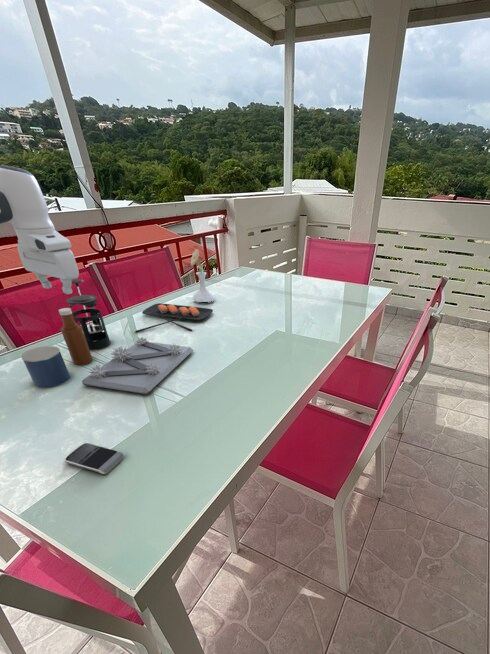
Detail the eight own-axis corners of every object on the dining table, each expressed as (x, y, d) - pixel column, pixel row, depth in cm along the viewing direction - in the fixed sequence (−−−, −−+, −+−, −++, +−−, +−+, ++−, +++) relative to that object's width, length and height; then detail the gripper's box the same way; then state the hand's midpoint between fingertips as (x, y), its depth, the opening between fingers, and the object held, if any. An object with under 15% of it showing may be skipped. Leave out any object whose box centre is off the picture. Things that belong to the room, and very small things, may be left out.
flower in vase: (194, 297, 170) (187, 245, 156) (217, 298, 171) (212, 245, 157) (190, 306, 159) (182, 250, 145) (214, 306, 160) (209, 251, 146)
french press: (105, 351, 117) (84, 284, 104) (76, 351, 115) (52, 284, 102) (115, 337, 126) (98, 275, 113) (89, 337, 125) (68, 275, 112)
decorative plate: (148, 397, 94) (143, 375, 90) (81, 387, 97) (72, 366, 93) (194, 352, 119) (192, 333, 115) (140, 345, 122) (135, 327, 118)
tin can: (27, 382, 98) (13, 355, 93) (58, 369, 105) (47, 343, 100) (46, 391, 95) (33, 363, 89) (77, 377, 101) (66, 350, 96)
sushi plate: (215, 313, 153) (214, 304, 151) (186, 338, 128) (184, 329, 126) (157, 306, 156) (155, 298, 154) (117, 330, 132) (115, 321, 129)
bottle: (69, 362, 109) (49, 310, 99) (85, 356, 113) (67, 305, 103) (80, 367, 107) (61, 314, 97) (96, 360, 111) (79, 308, 101)
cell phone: (86, 446, 77) (84, 441, 76) (126, 457, 74) (124, 452, 74) (63, 464, 72) (61, 459, 71) (105, 476, 70) (103, 472, 69)
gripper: (3, 236, 90) (25, 287, 98) (50, 244, 83) (69, 299, 91) (28, 233, 95) (47, 282, 103) (74, 241, 88) (90, 293, 95)
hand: (58, 290), depth 97 cm, fingers open, 8 cm apart
